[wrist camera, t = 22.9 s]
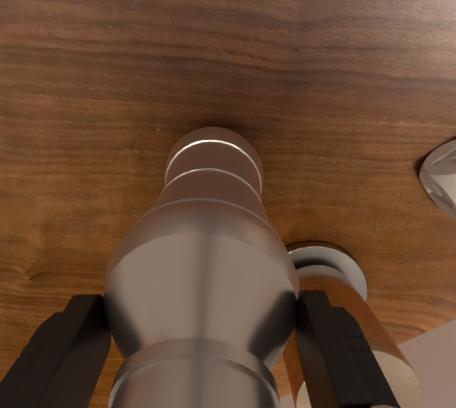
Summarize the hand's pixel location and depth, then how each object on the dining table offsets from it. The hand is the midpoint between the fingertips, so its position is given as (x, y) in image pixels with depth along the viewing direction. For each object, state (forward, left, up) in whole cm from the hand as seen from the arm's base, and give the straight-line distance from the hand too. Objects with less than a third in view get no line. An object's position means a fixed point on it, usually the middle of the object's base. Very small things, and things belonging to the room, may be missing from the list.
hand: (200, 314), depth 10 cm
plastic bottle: (0, 0, -16) cm, 16 cm away
